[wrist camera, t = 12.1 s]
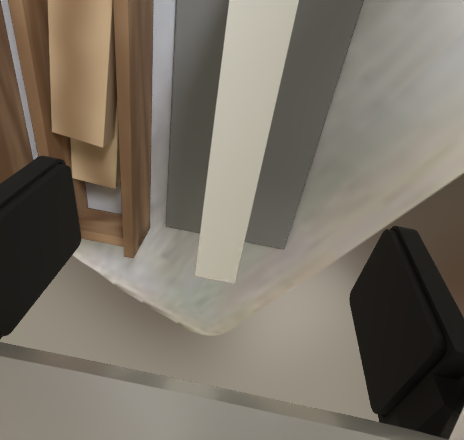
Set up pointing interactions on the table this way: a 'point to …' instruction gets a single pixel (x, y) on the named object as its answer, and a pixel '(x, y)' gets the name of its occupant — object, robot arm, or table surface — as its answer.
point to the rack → (59, 146)
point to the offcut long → (97, 161)
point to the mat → (283, 121)
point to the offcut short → (83, 69)
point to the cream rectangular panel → (241, 128)
